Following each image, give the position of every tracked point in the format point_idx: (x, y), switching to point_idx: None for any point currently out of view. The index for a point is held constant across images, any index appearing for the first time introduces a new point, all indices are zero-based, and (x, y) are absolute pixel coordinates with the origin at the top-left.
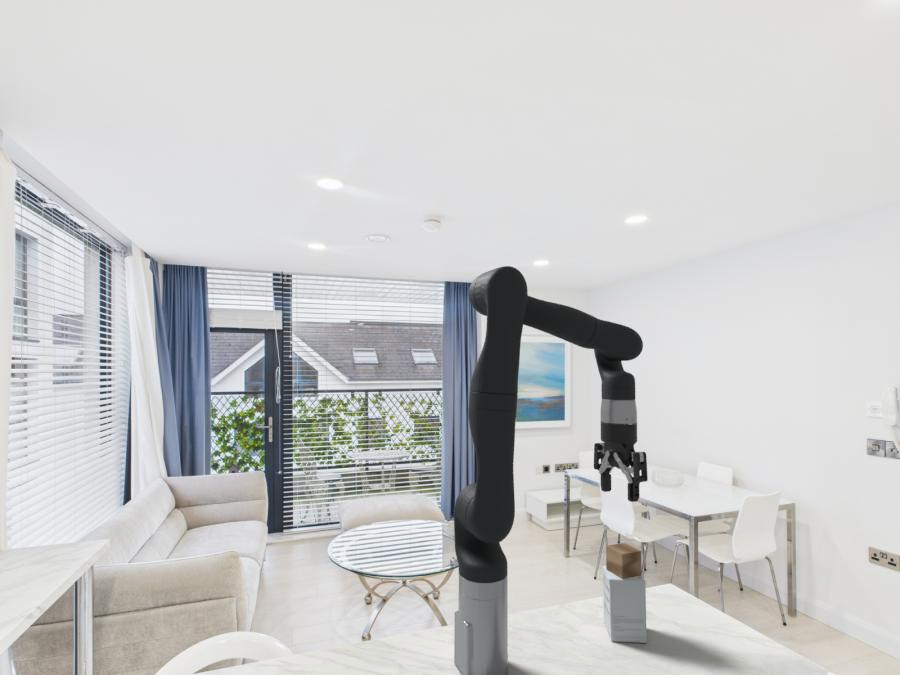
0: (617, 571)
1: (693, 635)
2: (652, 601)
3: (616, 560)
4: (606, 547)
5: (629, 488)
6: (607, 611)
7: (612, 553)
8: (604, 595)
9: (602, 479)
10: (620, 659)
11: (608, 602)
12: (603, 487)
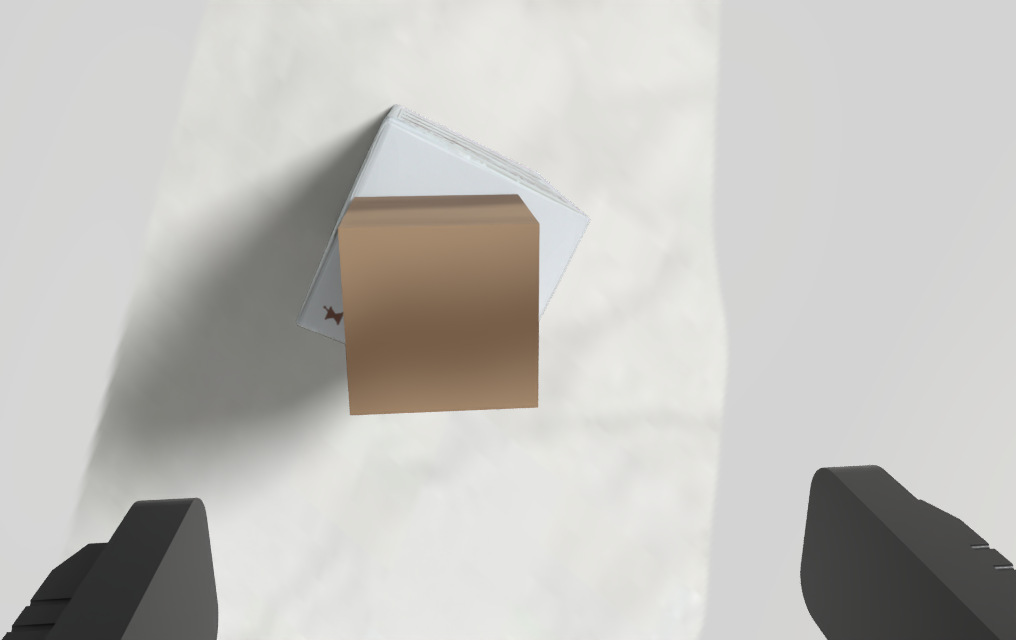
0: (401, 200)
1: (327, 469)
2: (614, 507)
3: (410, 213)
4: (533, 220)
5: (64, 631)
6: (453, 134)
7: (457, 218)
8: (524, 173)
9: (955, 573)
10: (261, 45)
11: (427, 125)
12: (848, 495)
